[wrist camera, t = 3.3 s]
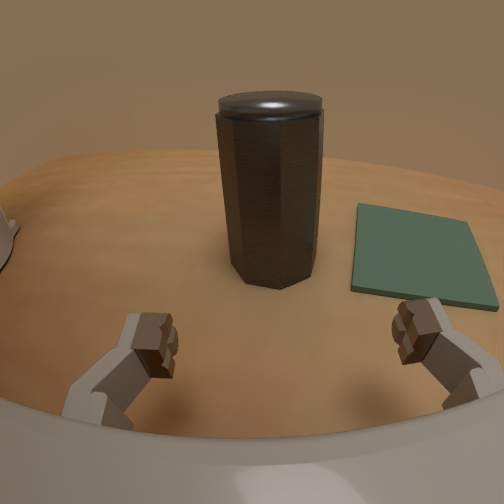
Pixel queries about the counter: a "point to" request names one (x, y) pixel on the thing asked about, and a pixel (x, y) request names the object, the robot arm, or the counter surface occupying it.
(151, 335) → the robot arm
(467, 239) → the mat
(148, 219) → the counter surface
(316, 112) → the canister
